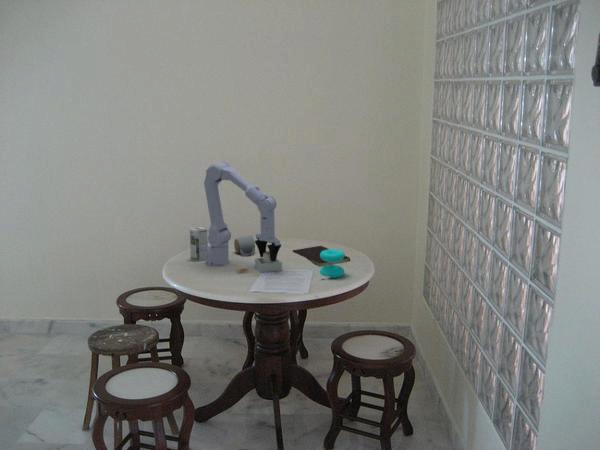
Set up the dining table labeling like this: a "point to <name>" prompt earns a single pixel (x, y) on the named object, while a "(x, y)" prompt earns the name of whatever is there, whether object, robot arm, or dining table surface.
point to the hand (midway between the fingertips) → (268, 258)
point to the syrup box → (198, 243)
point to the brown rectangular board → (242, 271)
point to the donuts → (332, 256)
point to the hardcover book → (317, 255)
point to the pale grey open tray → (268, 265)
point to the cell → (266, 257)
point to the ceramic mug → (245, 245)
